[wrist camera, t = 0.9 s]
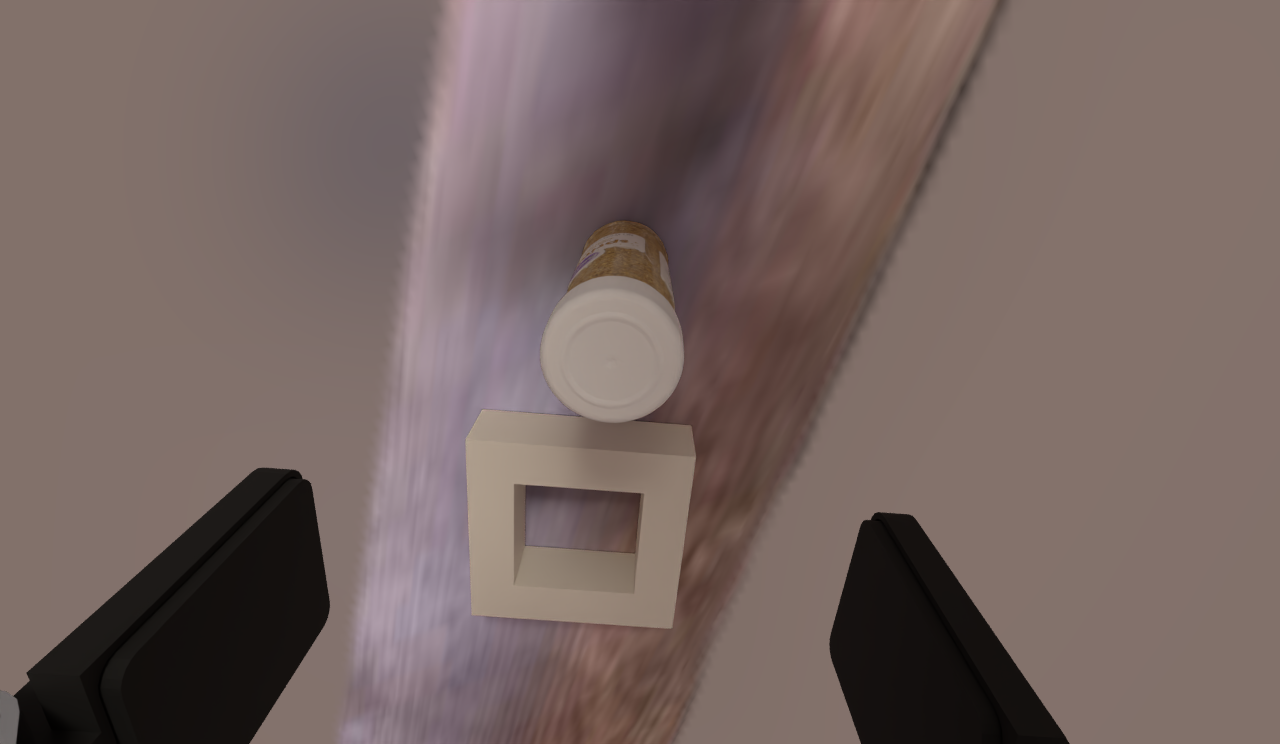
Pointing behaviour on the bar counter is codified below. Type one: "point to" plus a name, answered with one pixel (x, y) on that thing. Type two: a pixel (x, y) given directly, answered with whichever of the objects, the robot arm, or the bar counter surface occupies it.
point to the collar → (583, 459)
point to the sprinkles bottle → (615, 329)
